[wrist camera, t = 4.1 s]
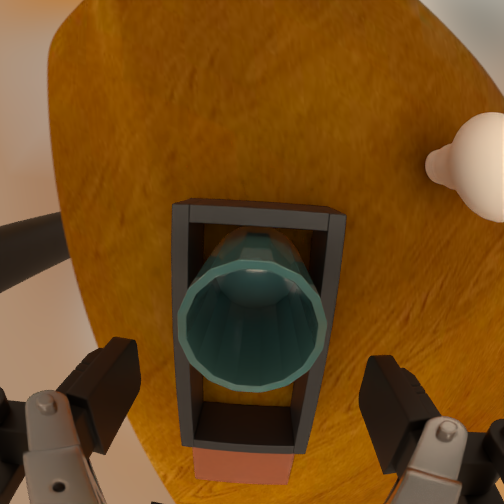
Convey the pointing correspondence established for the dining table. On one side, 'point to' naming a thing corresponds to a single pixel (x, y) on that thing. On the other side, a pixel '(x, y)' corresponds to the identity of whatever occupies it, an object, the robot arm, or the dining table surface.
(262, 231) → the cup
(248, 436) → the divided storage box
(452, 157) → the lightbulb
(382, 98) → the dining table surface
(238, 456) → the coaster
